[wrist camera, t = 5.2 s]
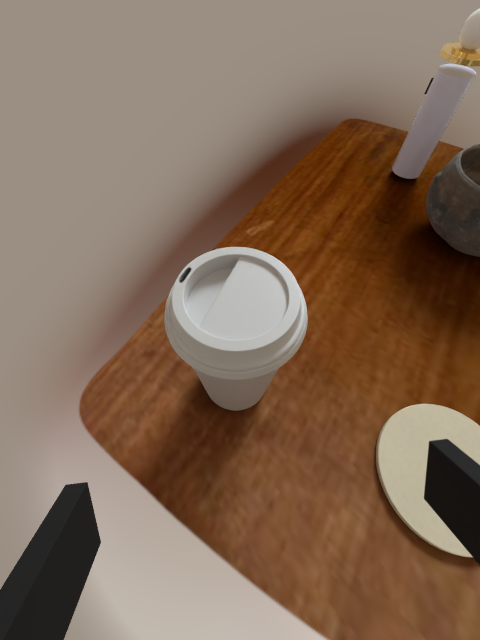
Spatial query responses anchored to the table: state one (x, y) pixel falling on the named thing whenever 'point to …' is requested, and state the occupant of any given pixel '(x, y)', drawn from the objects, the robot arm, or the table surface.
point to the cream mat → (421, 466)
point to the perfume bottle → (441, 100)
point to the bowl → (457, 202)
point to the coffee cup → (236, 322)
